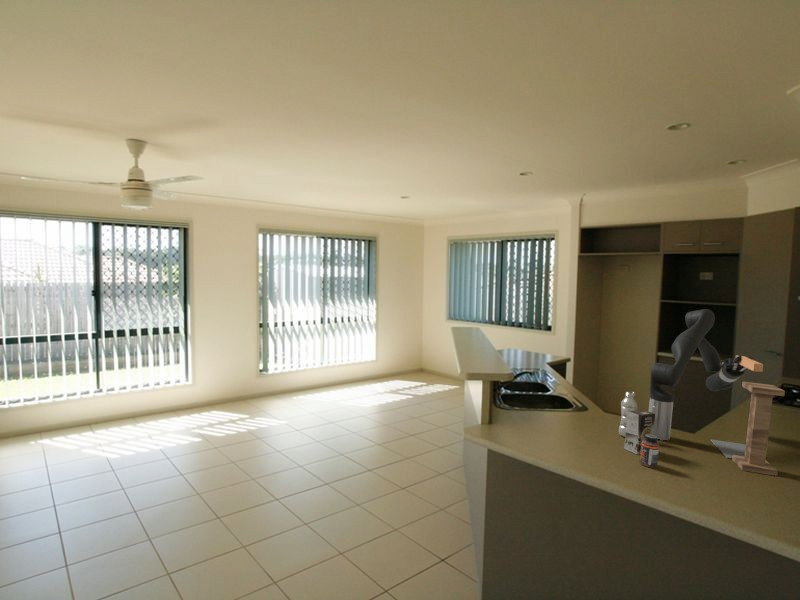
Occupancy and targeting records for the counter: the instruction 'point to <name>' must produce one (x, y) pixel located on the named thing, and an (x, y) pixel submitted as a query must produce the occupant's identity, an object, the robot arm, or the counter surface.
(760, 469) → the walnut stand
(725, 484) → the counter surface
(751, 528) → the counter surface
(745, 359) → the terracotta bar
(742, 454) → the rubber mat
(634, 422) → the coffee box
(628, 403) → the plastic bottle
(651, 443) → the supplement bottle
